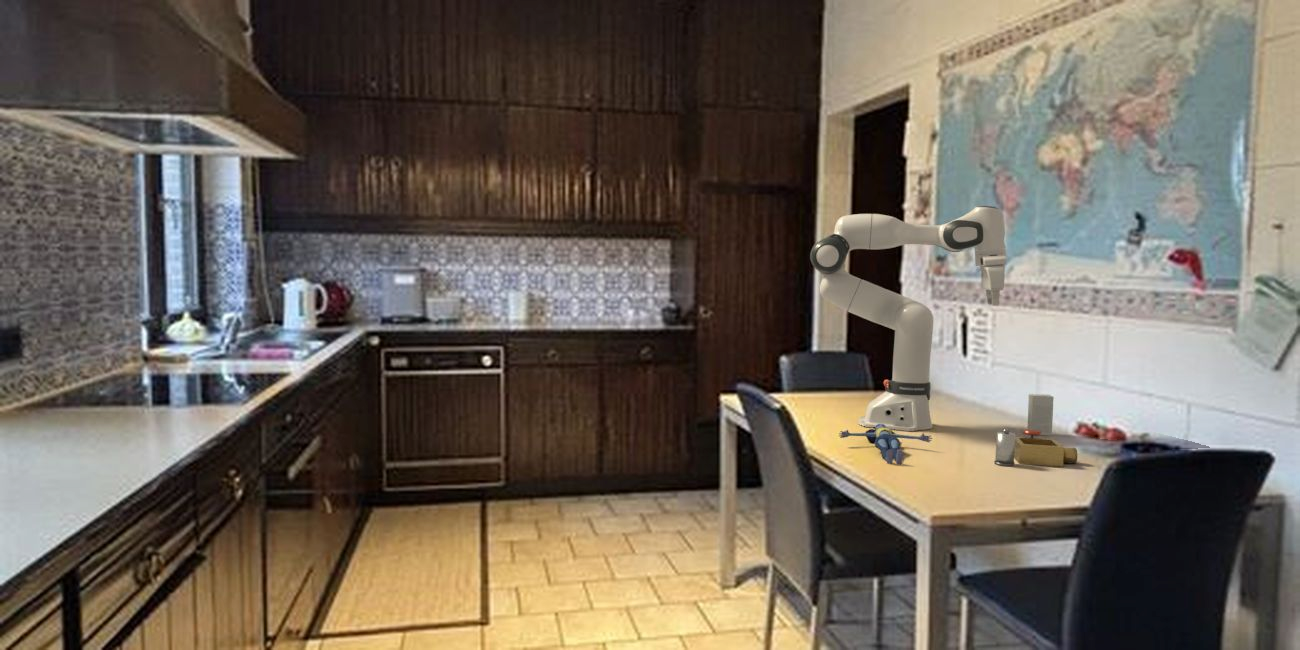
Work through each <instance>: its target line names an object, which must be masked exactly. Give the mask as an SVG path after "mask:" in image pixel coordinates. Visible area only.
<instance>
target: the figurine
mask: <svg viewBox="0 0 1300 650" xmlns="http://www.w3.org/2000/svg"><path fill="white" fill-rule="evenodd" d="M838 436H839V437H840V439H843V438H848V437H866V438H867V441H868V442H869V443H873V444H874V446H875V447H876V448H877V449H878V450H879V451H880V452H881V457H882V459H883V460H884V461H886V464H888V465H892V464H893V460H894V462H895V463H896V465H902V463H903V460H904V451H903V450H902V449H901V448H902V447H901V442H900V439H908V440H909V439H910V440H919V441H922V442H926V443H931V442H932V440H933V438H932V435H925V433H922V434H921V435H919V436H916V435H915V436H914V435H906V434H898V433H895V432H894V431H893V430H892V429H888V428H886V426H885V425H884V424H878V425H876V427H875V428H870V429H868V430H865V432H851V433H850V432H849V429H846V430H844V431H842V430H840V432H839V433H838Z"/></svg>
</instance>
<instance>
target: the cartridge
mask: <svg viewBox="0 0 1300 650" xmlns="http://www.w3.org/2000/svg"><path fill="white" fill-rule="evenodd" d="M1015 437H1016V433H1014V432H1010V429H1005V428H1004V429H1002V431H997V432H996V437H995V438H996V441H995V442H996V444H995V459H994V465H996V466H1000V467H1007V468H1009V467H1010V468H1012V467H1015V458H1014V451H1015Z"/></svg>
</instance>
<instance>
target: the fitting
mask: <svg viewBox="0 0 1300 650" xmlns="http://www.w3.org/2000/svg"><path fill="white" fill-rule="evenodd" d="M1022 431H1023V432H1022V434H1024V435H1026V436H1030V437H1023V436H1015V451H1014V460H1015V461H1016V462H1017V463H1018V464H1019V465H1028V466H1030V465H1031V466H1042V467H1043V466H1045V467H1057V466H1060V468H1063V467H1064V464H1073V463H1074V465H1075V464H1077V462H1078V449H1077V447H1064V446H1063V445H1062V444H1061V443H1059V442H1058V441H1057V439H1055V438H1038V437H1039V436H1042V435H1041V431H1038V430H1030V429H1023V430H1022ZM1035 436H1037V437H1035Z"/></svg>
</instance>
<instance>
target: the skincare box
mask: <svg viewBox="0 0 1300 650" xmlns="http://www.w3.org/2000/svg"><path fill="white" fill-rule="evenodd" d="M1054 399H1055V398H1054V396H1052V395H1051V394H1038V393H1037V394H1036V393H1035V394H1034V393H1029V394H1028V404H1027V405H1028V406H1027V407H1028V408H1027V429H1030V430H1038V431H1041V435H1040V436H1053V418H1054Z"/></svg>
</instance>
